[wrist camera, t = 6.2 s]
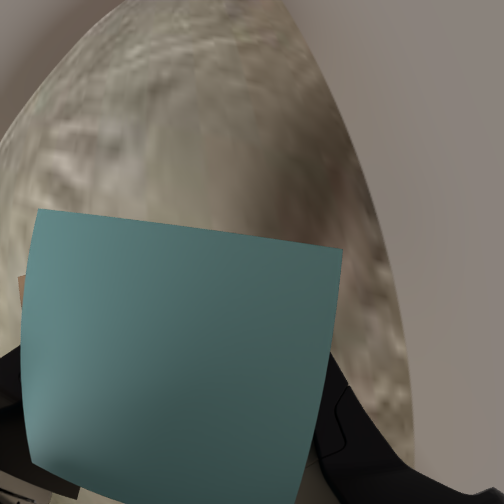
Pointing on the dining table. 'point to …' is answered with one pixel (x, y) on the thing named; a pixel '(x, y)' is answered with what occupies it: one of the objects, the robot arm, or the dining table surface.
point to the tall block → (174, 358)
